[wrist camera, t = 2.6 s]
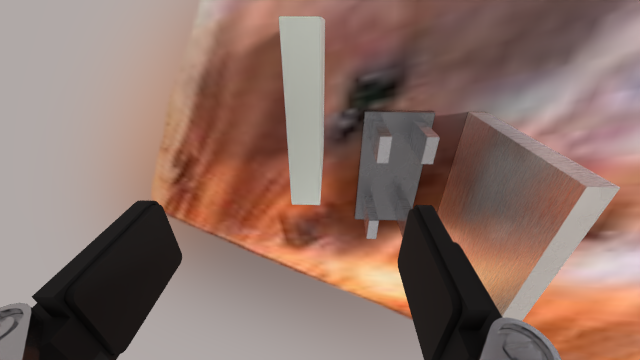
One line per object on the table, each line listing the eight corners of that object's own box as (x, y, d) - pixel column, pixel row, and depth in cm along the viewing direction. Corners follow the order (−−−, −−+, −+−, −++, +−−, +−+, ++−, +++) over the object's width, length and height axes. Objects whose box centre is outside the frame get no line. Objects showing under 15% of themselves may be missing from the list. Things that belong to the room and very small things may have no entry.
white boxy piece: (364, 110, 30) (392, 182, 16) (486, 112, 29) (620, 187, 16) (354, 216, 38) (367, 323, 25) (449, 218, 38) (516, 329, 24)
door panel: (300, 19, 25) (278, 16, 15) (325, 19, 25) (320, 16, 15) (304, 148, 33) (291, 204, 23) (323, 148, 33) (320, 205, 22)
